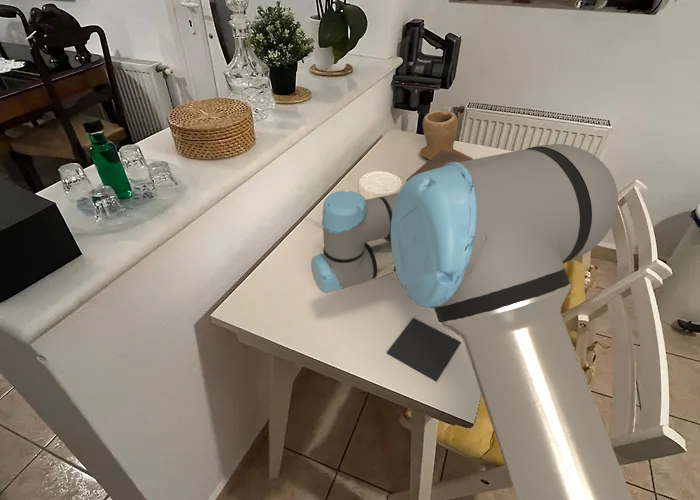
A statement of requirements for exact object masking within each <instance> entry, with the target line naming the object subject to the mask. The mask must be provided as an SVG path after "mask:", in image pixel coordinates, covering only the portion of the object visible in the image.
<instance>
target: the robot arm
mask: <svg viewBox="0 0 700 500" xmlns="http://www.w3.org/2000/svg"><path fill="white" fill-rule="evenodd" d="M618 207H619V194H618V187H617V184H616V181H615V178H614V177H613V174H612V172H611V171H610V169H609V168H608V167H607V165H606V164H605V163H604V162H603V161H602V160H600V159H599V158H598V157H597V156H596V155H594V154H593V153H590V152H589V151H587V150H585V149H583V148H580V147H577V146H573V145H568V144H561V143H558V144H557V143H555V144H554V143H553V144H542V145H536V146H532V147H529V148H528V147H527V148H525V149H520V150H514V151H509V152H503V153H499V154H493V155H489V156H483V157H479V158H473V160H468V161H463V162H451V163H447V164H445V165H444V166H442V167H440V168H437V169H433V170H429V171H426V172H422V173H419V174H417V175H415V176H413V177H412V178H410V179H409V180H408V181H407V182H406V181H405V182H404V184H402V188H401V190H400V191H399V193H395V194H391V195H387V196H383V197H376V198H372V199H365V198H364V197H363V196H362V195H360V193H359V192H356V191H353V190H349V191H345V190H338V191H334V192H333V193H330V194H329V195H328V196H327V197H326V198H325V200H324V201H323V206H322V219H321V225H322V236H323V237H322V238H323V248H322V249H323V251H322V252H321V253H319V254H317V255H314V256H313V257H312V258H311V261H310V269H311V273H312V276H313V280H314V282H315V285H316V286H317V288H318V290H320V291H321V292H322V293H325V294H328V293H333V292H338V291H341V290H344V289H346V288H350V287H353V286H356V285H358V284H362V283H365V282H368V281H372V280H374V279H378V278H381V277H384V276H387V275H391V274H392V273H396V275H397V278H398V281H399V283H400V285H401V287H402V288H403V289H404V290H405V291H406V295H407V297H408V298H409V299H410V301H412V303H414V304H416V305H417V306H419V307H422V308H427V309H434V312H435V314H436V317H437V320H438V323H439V326H441V327H442V328H444V329H446V330H448V331H450V332H452V333H453V334H455V335H457V336H458V337H459V338H461V339H462V342H463V345H464V348H465V351H466V354H467V357H468V359H469V362H470V366H471V368H472V371H473V374H474V377H475V380H476V384H477V386H478V389H479V391H480V393H481V397H482V400H483V404H484V406H485V409H486V412H487V414H488V417H489V420H490V423H491V427H492V429H493V433H494V435H495V437H496V440H497V444H498V447H499V449H500V452H501V453H500V454H501V455H502V459H503V462H504V464H505V467H506V470H507V473H508V476H509V478H510V481H511V485H512V487H513V489H514V490H513V491H514V493H515V496H516V499H517V500H633V498H632V494H631V491H630V490H629V487H628V485H627V481H626V479H625V477H624V474H623V471H622V469H621V466H620V464H619V461H618V458H617V456H616V453H615V450H614V448H613V445H612V443H611V440H610V438H609V435H608V432H607V430H606V429H607V428H606V427H605V424H604V422H603V419H602V416H601V414H600V411H599V409H598V406H597V404H596V400H595V399H594V396H593V393H592V390H591V387H590V385H589V383H588V380H587V377H586V375H585V371H584V369H583V367H582V364H581V361H580V359H579V357H578V355H577V351H576V349H575V346H574V344H573V341H572V338H571V335H570V333H569V331H568V328H567V326H566V325H567V324H566V322H565V320H564V317H563V314H562V313H561V311H562V307H563V304H564V302H565V301H566V298H567V296H568V294H569V293H570V291H571V289H572V287H573V286H572V284H571V282H570V280H569V276H568V273H567V271H566V268H565V266H564V264H566V263H568V262H571V261H573V260H576V259H579V258H581V257H582V256H584V255H585V254H587V253H589V252H591V251H592V250H593V249H595V248H596V247H597V246H598V245H599V244H600V243H601V242H602V241H603V240H604V239H605V238H606V237H607V235H608V233H609V232H610V230H611V229H612V227H613V224H614V222H615V219H616V217H617V214H618Z"/></svg>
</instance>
